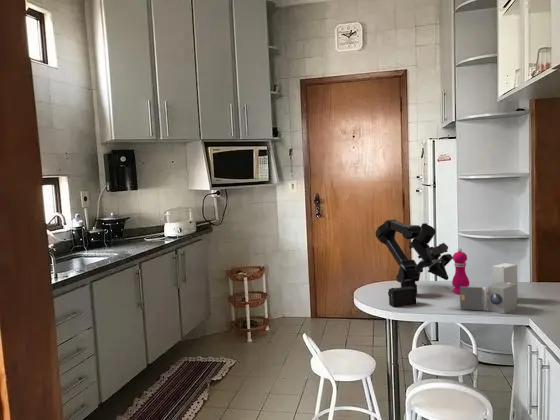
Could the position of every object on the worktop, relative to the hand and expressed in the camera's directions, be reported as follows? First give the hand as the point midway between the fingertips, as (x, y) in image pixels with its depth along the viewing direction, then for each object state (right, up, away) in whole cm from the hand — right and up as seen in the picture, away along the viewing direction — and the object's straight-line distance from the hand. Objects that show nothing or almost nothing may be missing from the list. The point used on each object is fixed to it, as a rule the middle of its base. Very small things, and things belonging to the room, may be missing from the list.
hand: (447, 279), depth 185 cm
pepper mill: (+13, -9, +20) cm, 26 cm away
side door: (+8, -11, -7) cm, 15 cm away
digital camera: (-16, -12, +7) cm, 22 cm away
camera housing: (+18, -10, -8) cm, 23 cm away
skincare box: (+26, -9, +4) cm, 28 cm away
